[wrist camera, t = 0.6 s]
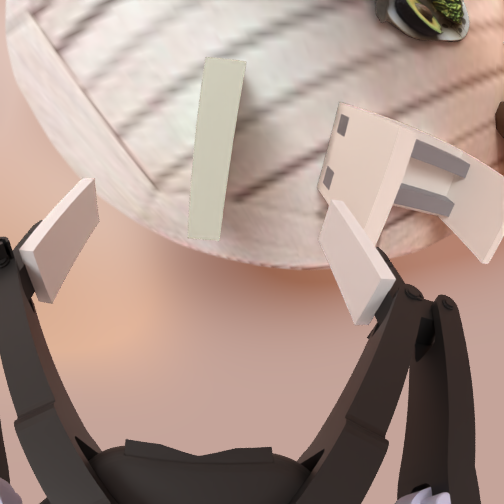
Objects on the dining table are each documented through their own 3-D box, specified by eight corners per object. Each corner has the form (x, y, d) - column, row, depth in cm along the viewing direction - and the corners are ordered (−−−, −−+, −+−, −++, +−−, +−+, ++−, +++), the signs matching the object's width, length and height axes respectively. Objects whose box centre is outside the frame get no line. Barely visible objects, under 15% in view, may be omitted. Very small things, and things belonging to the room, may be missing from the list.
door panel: (212, 62, 26) (204, 57, 17) (240, 65, 27) (248, 61, 17) (197, 186, 36) (186, 238, 26) (221, 188, 36) (220, 240, 27)
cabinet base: (316, 187, 37) (356, 248, 26) (339, 101, 30) (399, 127, 19) (439, 213, 41) (488, 264, 30) (464, 151, 34) (524, 191, 23)
